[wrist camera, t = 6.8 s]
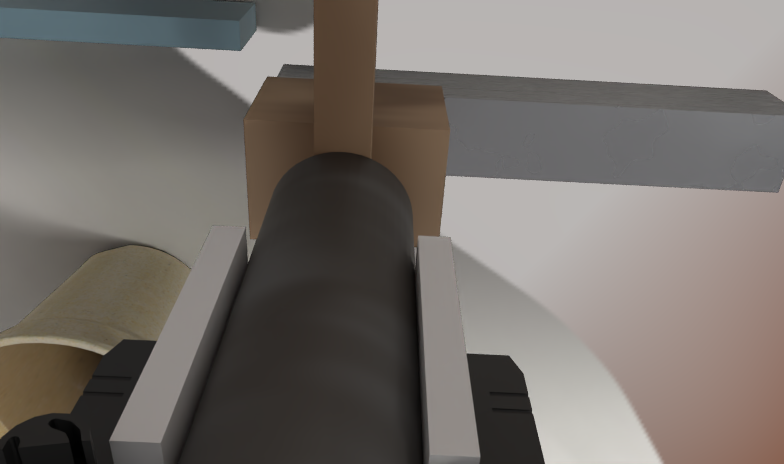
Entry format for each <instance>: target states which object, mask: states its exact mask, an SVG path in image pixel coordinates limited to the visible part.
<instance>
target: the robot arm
mask: <svg viewBox="0 0 784 464" xmlns="http://www.w3.org/2000/svg"><path fill="white" fill-rule="evenodd" d="M247 265H248V258H247V240H246V227H239V226H220V225H213V226H212V228H211V230H210V232H209V234H208V236H207V238H206V240H205V242H204V245H203V247H202V249H201V251H200V253H199V255H198V257H197V259H196V261H195V263H194V265H193V267H192V269H191V272H190V274H189V276H188V278H187V280H186V282H185V284H184V286H183V288H182V290H181V292H180V294H179V296H178V299H177V301H176V303H175V305H174V307H173V309H172V311H171V313H170V315H169V317H168V319H167V321H166V324H165V326H164V328H163V330H162V332H161V334H160V336H159V338H158V340H157V341H151V340H130V339H123V340H122V341H121V342H120V343H118V344H117V345H116V346H115V347H114V348H112V349H111V350H110V351H109V352H107V353H106V354H105V355H104V356H103V357H102V359H101V361H100V362H99V364H98V366H97V368H96V369H95V371H94V373H93V375H92V379H90V380H89V382H88V383H87V385H86V387H85V389H84V390H83V395H81V396H80V397H79V399H78V401H77V403H76V404H75V406H74V408H73V410H72V411H71V413H70V414H67V413H50V414H45V415H41V416H36V417H33V418H31V419H28V420H26V421H24V422H22V423H20V424H18V425H16V426H15V427H13V428H12V429H11V430H10V431H8V432H7V433H6V434H5V435H3V436H2V437H1V439H0V464H177V463H178V461H179V458H180V455H181V452H182V449H183V446H184V444H185V441H186V438H187V435H188V432H189V429H190V427H191V424H192V421H193V418H194V415H195V412H196V410H197V407H198V404H199V401H200V398H201V395H202V393H203V390H204V387H205V384H206V381H207V378H208V376H209V373H210V370H211V367H212V364H213V361H214V359H215V356H216V353H217V350H218V347H219V344H220V342H221V339H222V336H223V333H224V330H225V327H226V325H227V322H228V319H229V316H230V313H231V310H232V308H233V305H234V302H235V299H236V296H237V293H238V291H239V288H240V285H241V282H242V279H243V276H244V274H245V271H246V268H247ZM415 284H416V307H417V331H418V354H419V377H420V401H421V424H422V447H423V464H545V462H544V458H543V454H542V450H541V445H540V441H539V437H538V433H537V429H536V424H535V420H534V416H533V414H532V408H531V403H530V399H529V397H528V391H527V387H526V383H525V378H524V374H523V373H522V371H521V370H520V369H519V368H518V366H517V365H516V364H515V363H514V361H513V360H512V359H511V358H510V356H506V355H485V354H466V347H465V340H464V332H463V325H462V318H461V310H460V303H459V296H458V288H457V281H456V273H455V266H454V259H453V251H452V244H451V238H450V237H437V236H418V243H417V255H416V266H415Z"/></svg>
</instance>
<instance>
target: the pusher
mask: <svg viewBox="0 0 784 464" xmlns="http://www.w3.org/2000/svg"><path fill="white" fill-rule="evenodd" d="M377 20H378V0H314V79H303V78H284V77H267V78H266V80H265V81H264V83H263V85H262V87H261V89H260V90H259V92H258V94H257V96H256V98H255V100H254V101H253V103H252V105H251V107H250V109H249V110H248V112H247V114H246V116H245V118H244V119H243V121H244V139H245V157H246V175H247V192H248V210H249V228H250V239H257V240H256V243H255V245H254V248H253V251H252V254H251V257H250V260H249V262H248V265H247V268H246V271H245V274H244V276H243V279H242V282H241V285H240V288H239V291H238V293H237V296H236V299H235V302H234V305H233V308H232V310H231V313H230V316H229V319H228V322H227V325H226V327H225V330H224V333H223V336H222V339H221V342H220V344H219V347H218V350H217V353H216V356H215V359H214V361H213V364H212V367H211V370H210V373H209V376H208V378H207V381H206V384H205V387H204V390H203V393H202V395H201V398H200V401H199V404H198V407H197V410H196V412H195V415H194V418H193V421H192V424H191V427H190V429H189V432H188V435H187V438H186V441H185V444H184V446H183V449H182V452H181V455H180V458H179V461H178V463H177V464H423V447H422V424H421V401H420V377H419V354H418V331H417V307H416V284H415V255H414V247H417V243H418V236H437V237H439V236H440V225H441V216H442V205H443V196H444V186H445V177H446V167H447V157H448V147H449V137H450V127H449V121H448V116H447V111H446V106H445V100H444V95H443V90H442V86H432V85H413V84H395V83H377V82H375V67H376V43H377Z"/></svg>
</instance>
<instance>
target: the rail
mask: <svg viewBox="0 0 784 464" xmlns="http://www.w3.org/2000/svg"><path fill="white" fill-rule="evenodd" d="M277 77H284V78H303V79H314V66H306V65H289V64H285V65H283V67H282V69H281V71H280V73H279V75H278V76H277ZM375 82H377V83H395V84H413V85H432V86H442V90H443V95H444V100H445V106H446V111H447V116H448V121H449V127H450V137H449V147H448V157H447V167H446V176H465V177H467V176H468V177H485V178H486V177H487V178H504V179H505V178H506V179H524V180H543V181H563V182H583V183H601V184H602V183H603V184H622V185H641V186H661V187H680V188H699V189H718V190H738V191H757V192H776V193H777V192H779V189H780V186H781V184H782V181H783V178H784V102H783V101H781V100H780V99H778V98H777V97H775V96H774V95H772V94H771V93H769V92H768V91H763V90H746V89H727V88H709V87H690V86H673V85H653V84H636V83H617V82H599V81H580V80H562V79H561V80H560V79H545V78H544V79H543V78H526V77H525V78H524V77H507V76H489V75H488V76H487V75H470V74H453V73H435V72H417V71H416V72H415V71H398V70H379V69H375Z"/></svg>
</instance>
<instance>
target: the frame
mask: <svg viewBox="0 0 784 464" xmlns="http://www.w3.org/2000/svg"><path fill="white" fill-rule="evenodd" d="M255 31H256V7H255V3H251V2H233V1H215V0H0V38H16V39H34V40H53V41H71V42H89V43H107V44H125V45H143V46H162V47H180V48H198V49H216V50H234V51H241V50H242V49H243V47H244V46H245V45H246V43H247V42H248V41H249V39H250V38H251V37H252V35H253V34H254V33H255Z"/></svg>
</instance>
